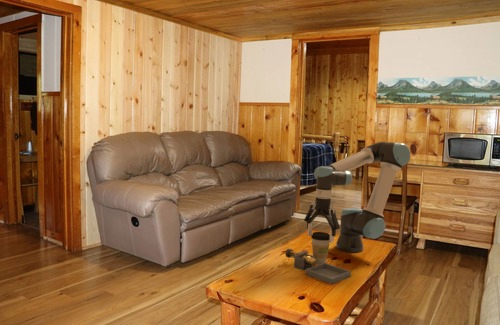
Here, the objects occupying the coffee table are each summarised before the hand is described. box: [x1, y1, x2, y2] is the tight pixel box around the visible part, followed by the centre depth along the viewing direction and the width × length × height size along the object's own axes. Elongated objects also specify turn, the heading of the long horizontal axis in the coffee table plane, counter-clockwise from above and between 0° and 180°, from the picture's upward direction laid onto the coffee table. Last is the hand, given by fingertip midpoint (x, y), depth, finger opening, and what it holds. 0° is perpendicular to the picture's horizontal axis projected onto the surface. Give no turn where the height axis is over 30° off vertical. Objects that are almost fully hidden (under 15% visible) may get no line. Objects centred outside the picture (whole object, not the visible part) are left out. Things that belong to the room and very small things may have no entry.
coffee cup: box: [310, 231, 330, 265], centre depth 207 cm, size 10×10×15 cm
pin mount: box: [293, 249, 314, 272], centre depth 200 cm, size 7×6×7 cm
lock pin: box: [284, 248, 316, 266], centre depth 201 cm, size 4×16×4 cm, turn 44°
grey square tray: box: [304, 262, 352, 285], centre depth 191 cm, size 15×15×2 cm
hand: (320, 238), depth 206 cm, fingers open, 13 cm apart
